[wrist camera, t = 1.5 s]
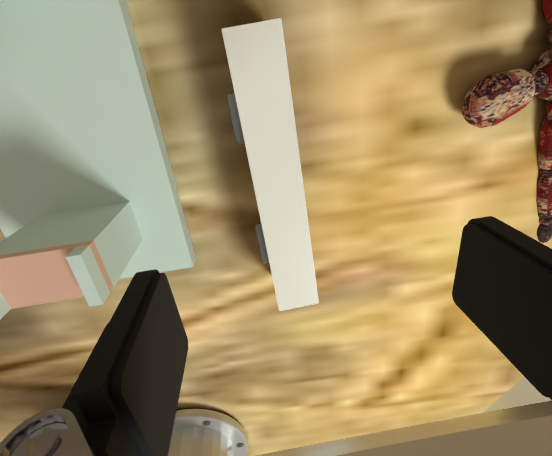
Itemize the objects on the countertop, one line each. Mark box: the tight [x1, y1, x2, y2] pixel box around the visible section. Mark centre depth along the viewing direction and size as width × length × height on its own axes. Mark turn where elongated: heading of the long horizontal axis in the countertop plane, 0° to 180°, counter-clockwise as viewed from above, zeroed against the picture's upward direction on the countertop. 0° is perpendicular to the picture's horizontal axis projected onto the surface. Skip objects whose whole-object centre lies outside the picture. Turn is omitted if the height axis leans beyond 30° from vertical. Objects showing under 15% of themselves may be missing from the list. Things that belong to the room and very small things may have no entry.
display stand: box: [0, 0, 196, 319], centre depth 16 cm, size 24×12×9 cm, turn 7°
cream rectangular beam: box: [222, 18, 319, 311], centre depth 21 cm, size 18×4×5 cm, turn 10°
